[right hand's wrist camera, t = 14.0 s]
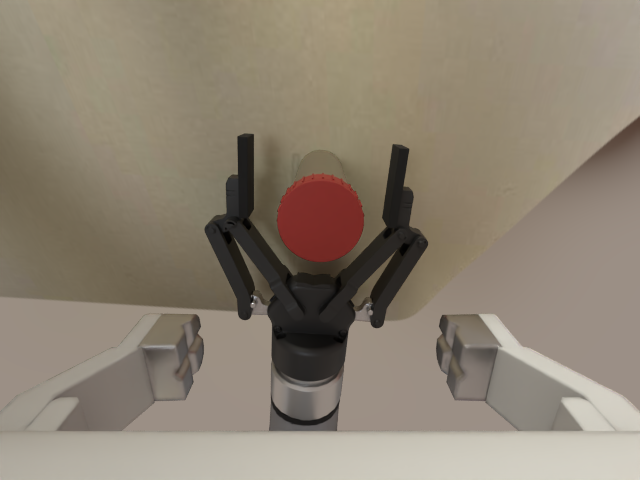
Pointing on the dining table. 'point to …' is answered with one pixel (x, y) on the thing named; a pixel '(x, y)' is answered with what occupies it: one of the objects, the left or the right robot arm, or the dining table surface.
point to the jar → (320, 165)
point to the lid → (320, 218)
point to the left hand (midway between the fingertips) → (323, 140)
